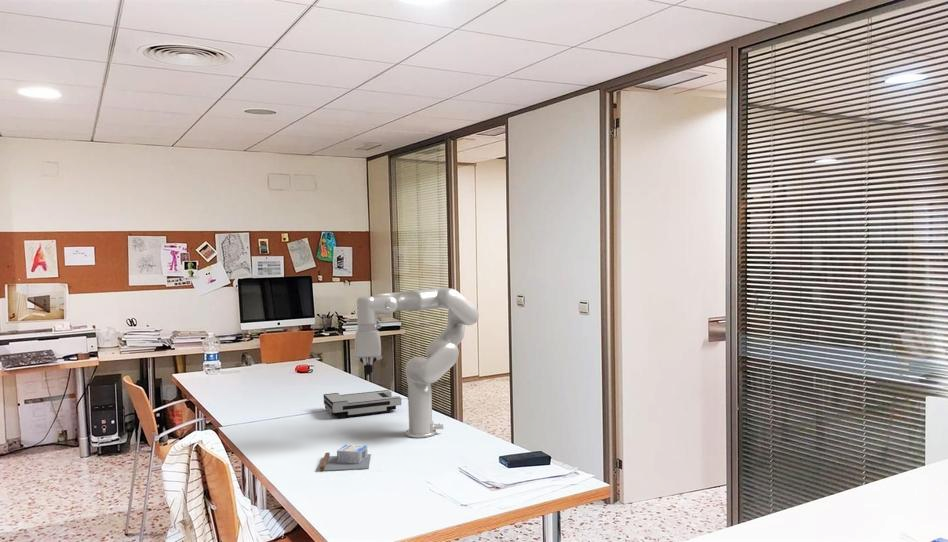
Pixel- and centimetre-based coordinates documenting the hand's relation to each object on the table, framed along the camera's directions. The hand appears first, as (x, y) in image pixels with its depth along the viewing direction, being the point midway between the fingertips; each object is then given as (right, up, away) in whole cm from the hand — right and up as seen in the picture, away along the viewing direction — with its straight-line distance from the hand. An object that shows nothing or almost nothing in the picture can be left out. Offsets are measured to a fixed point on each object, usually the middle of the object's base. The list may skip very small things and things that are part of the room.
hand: (368, 374), depth 265 cm
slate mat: (-4, -28, -24) cm, 37 cm away
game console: (-11, -26, +55) cm, 62 cm away
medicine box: (+2, -25, -23) cm, 34 cm away
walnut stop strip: (-12, -28, -24) cm, 39 cm away
